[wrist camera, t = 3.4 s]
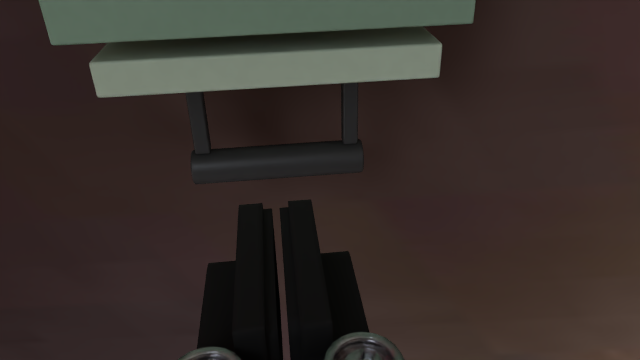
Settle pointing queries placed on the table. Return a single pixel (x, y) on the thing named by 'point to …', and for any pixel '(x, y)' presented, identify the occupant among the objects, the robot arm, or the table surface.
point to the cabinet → (236, 17)
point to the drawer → (265, 72)
